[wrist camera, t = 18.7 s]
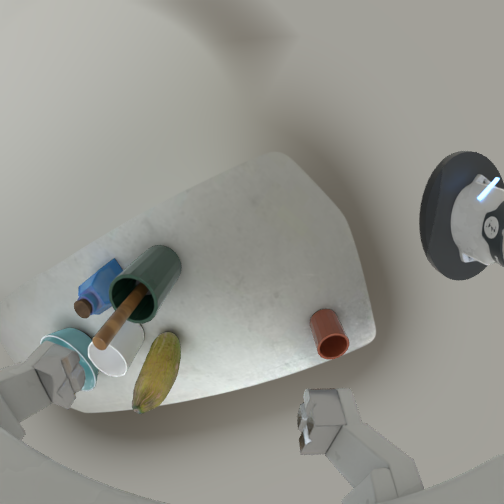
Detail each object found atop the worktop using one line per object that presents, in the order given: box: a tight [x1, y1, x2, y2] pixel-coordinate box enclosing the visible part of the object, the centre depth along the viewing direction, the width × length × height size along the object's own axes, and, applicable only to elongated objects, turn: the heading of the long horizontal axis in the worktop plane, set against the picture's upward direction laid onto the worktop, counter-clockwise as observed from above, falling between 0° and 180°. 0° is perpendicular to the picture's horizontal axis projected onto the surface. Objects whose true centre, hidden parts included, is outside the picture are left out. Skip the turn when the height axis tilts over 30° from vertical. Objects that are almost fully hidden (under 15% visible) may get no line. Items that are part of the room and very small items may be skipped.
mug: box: [88, 320, 144, 377], centre depth 46 cm, size 12×8×10 cm
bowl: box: [40, 328, 98, 391], centre depth 49 cm, size 16×16×8 cm
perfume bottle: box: [74, 258, 123, 318], centre depth 42 cm, size 6×6×12 cm
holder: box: [310, 309, 349, 359], centre depth 46 cm, size 5×5×8 cm
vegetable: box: [132, 332, 181, 414], centre depth 42 cm, size 6×6×20 cm
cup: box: [109, 245, 181, 324], centre depth 40 cm, size 7×8×13 cm
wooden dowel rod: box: [92, 280, 151, 350], centre depth 35 cm, size 3×3×22 cm
